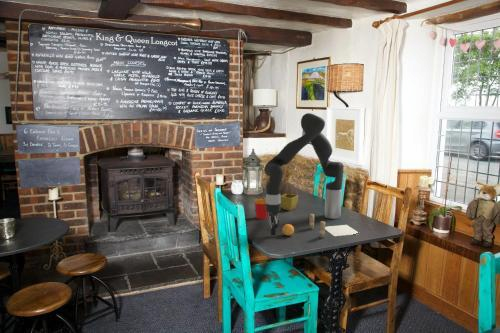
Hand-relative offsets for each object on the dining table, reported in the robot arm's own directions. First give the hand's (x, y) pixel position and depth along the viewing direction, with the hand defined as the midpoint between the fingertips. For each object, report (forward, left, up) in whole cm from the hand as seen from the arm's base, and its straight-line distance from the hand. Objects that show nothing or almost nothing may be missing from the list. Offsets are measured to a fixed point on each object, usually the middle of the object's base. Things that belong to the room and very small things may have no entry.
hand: (272, 234), depth 202 cm
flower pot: (-45, +25, -1) cm, 51 cm away
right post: (+7, +24, -1) cm, 25 cm away
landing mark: (0, +38, -1) cm, 38 cm away
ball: (0, +8, +2) cm, 8 cm away
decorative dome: (-82, +36, -1) cm, 90 cm away
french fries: (-32, +3, -1) cm, 32 cm away
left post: (-6, +24, -1) cm, 25 cm away
